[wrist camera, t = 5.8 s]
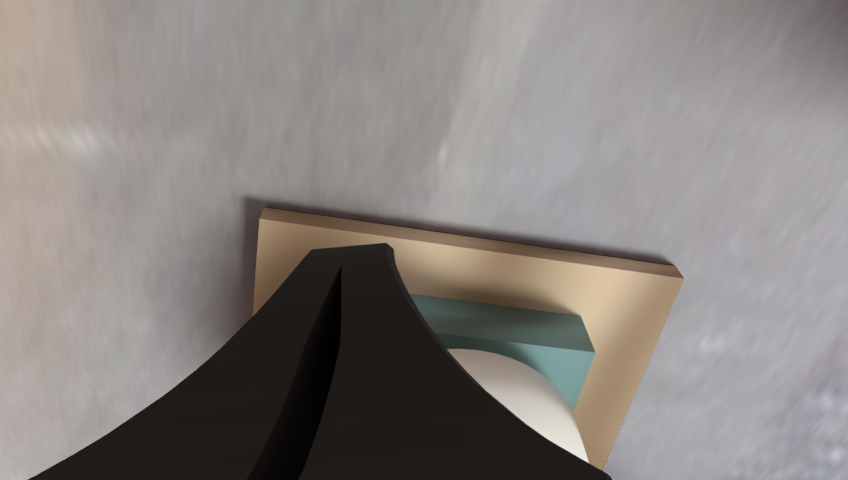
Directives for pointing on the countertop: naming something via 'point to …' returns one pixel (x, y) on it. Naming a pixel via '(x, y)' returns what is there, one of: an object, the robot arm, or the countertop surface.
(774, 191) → the countertop surface
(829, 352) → the countertop surface
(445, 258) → the dispenser base
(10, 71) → the countertop surface
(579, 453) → the disc
